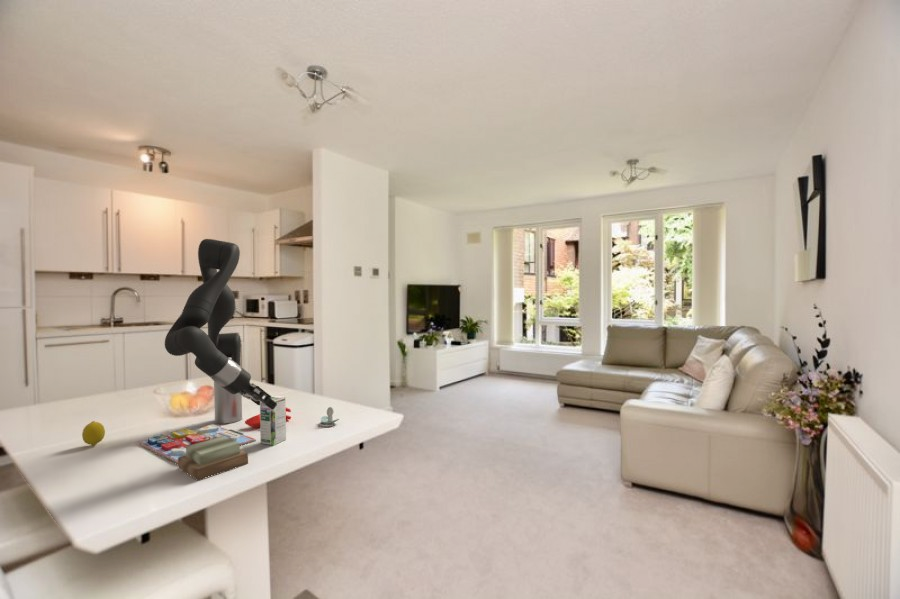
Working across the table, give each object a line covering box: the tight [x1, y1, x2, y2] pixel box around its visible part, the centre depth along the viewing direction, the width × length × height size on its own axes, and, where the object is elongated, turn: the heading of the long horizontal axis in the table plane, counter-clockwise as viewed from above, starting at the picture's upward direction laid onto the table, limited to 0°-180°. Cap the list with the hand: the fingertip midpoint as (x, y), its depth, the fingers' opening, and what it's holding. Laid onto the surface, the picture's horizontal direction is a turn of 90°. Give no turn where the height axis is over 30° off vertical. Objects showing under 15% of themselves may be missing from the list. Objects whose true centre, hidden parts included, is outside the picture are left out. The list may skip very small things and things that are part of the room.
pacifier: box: [318, 406, 340, 428], centre depth 150 cm, size 7×6×6 cm
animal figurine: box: [244, 406, 292, 429], centre depth 151 cm, size 12×15×5 cm
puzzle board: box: [138, 423, 257, 465], centre depth 135 cm, size 30×23×3 cm
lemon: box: [82, 420, 106, 447], centre depth 133 cm, size 6×6×8 cm
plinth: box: [177, 436, 249, 481], centre depth 116 cm, size 13×13×6 cm
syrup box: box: [259, 395, 287, 446], centre depth 134 cm, size 6×6×14 cm
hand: (267, 404), depth 133 cm, fingers open, 8 cm apart
